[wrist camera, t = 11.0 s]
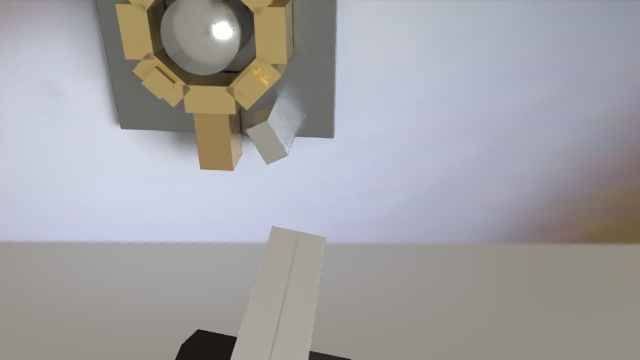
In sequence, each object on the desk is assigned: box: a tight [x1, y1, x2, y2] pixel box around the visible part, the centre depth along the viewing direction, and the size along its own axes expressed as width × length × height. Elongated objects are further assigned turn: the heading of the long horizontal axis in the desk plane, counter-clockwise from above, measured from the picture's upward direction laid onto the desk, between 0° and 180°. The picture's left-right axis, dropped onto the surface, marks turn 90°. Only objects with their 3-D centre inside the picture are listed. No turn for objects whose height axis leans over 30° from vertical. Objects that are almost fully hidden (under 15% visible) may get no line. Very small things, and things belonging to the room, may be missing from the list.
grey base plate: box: [96, 0, 337, 165], centre depth 36 cm, size 17×18×5 cm
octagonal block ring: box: [115, 0, 293, 171], centre depth 36 cm, size 16×11×4 cm
